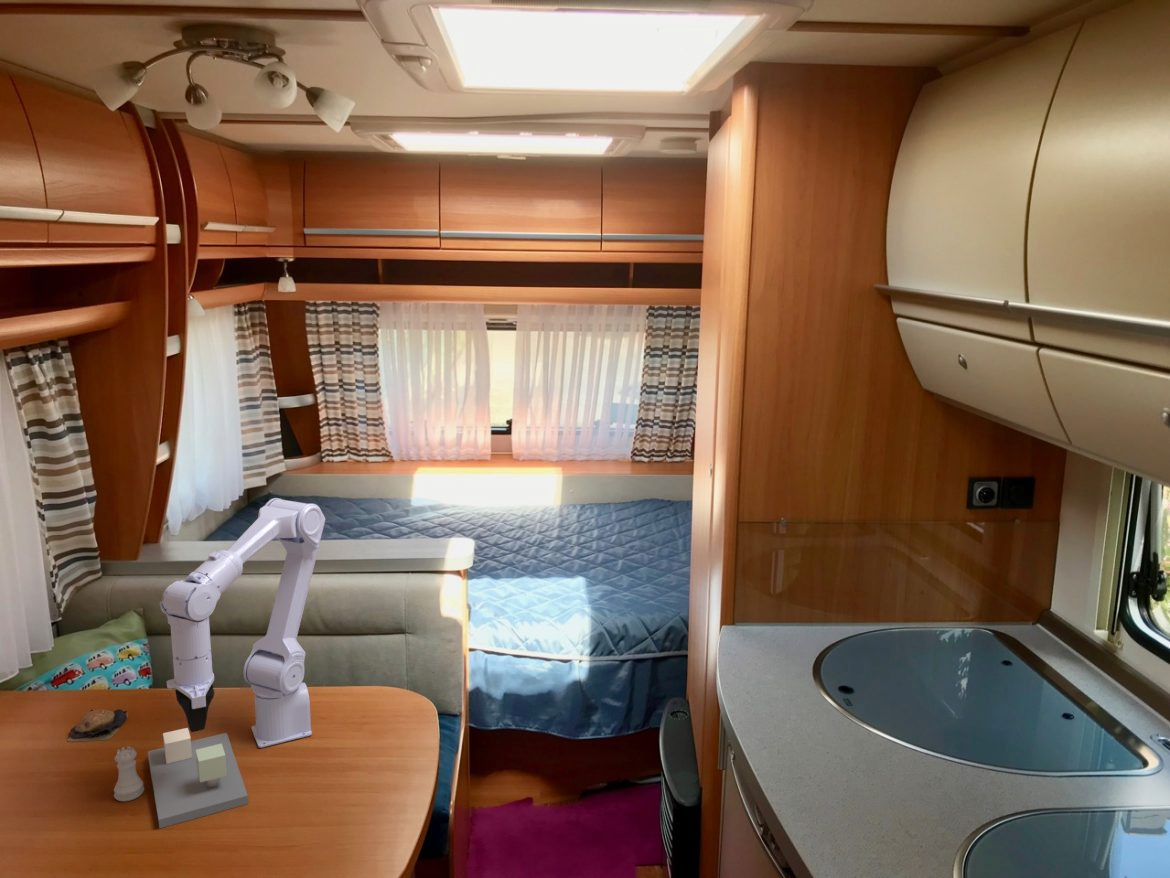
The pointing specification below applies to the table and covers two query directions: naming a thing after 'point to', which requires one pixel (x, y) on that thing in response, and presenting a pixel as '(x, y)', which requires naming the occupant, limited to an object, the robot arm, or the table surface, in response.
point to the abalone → (98, 725)
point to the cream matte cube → (177, 745)
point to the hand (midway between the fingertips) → (197, 729)
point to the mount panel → (194, 785)
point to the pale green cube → (211, 762)
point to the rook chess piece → (127, 776)
